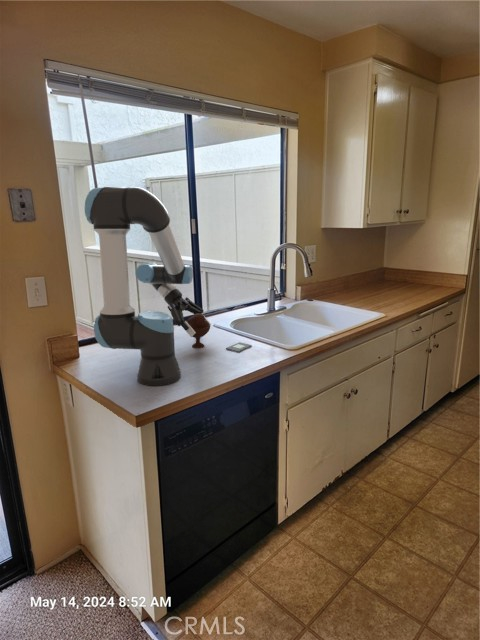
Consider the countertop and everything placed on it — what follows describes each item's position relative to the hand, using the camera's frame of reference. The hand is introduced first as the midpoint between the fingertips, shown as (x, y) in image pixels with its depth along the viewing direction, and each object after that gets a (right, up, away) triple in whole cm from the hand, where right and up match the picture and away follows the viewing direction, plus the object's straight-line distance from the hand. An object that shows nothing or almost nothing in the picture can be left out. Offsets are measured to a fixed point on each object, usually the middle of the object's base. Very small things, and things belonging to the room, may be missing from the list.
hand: (201, 330), depth 175 cm
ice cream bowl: (-2, -7, +3) cm, 8 cm away
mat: (+16, -7, 0) cm, 18 cm away
